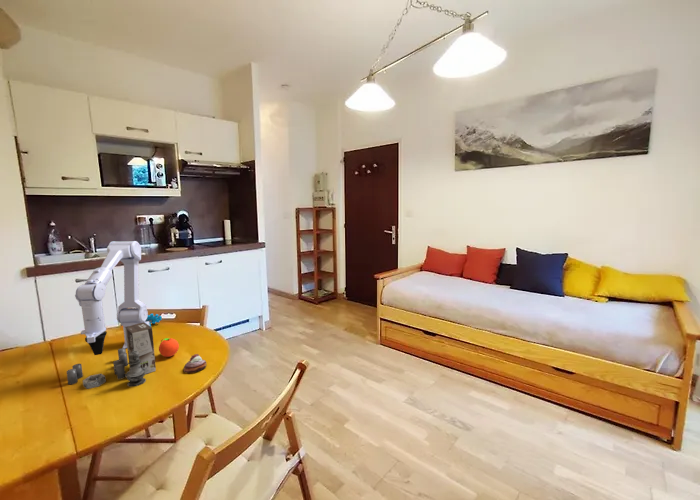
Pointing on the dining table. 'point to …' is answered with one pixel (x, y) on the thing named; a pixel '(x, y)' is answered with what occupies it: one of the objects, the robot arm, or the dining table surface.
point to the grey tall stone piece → (135, 370)
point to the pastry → (195, 364)
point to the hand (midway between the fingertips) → (98, 353)
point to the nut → (94, 381)
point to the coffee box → (141, 344)
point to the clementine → (168, 347)
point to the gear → (153, 319)
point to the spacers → (118, 368)
